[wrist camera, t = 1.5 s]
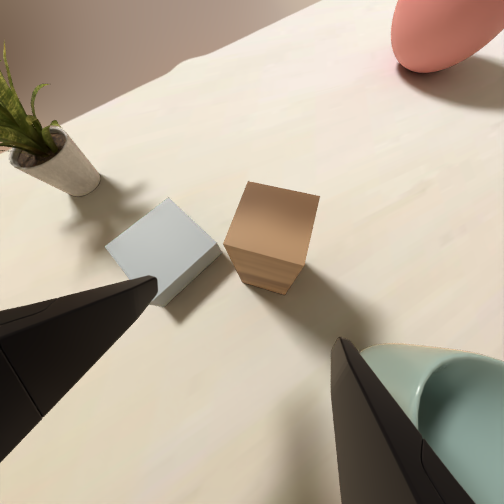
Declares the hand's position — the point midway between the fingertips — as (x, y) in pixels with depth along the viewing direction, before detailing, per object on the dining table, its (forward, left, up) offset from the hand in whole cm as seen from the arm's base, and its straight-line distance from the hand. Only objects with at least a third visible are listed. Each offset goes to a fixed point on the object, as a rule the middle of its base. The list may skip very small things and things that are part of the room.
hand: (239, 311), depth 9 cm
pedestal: (-2, +13, -12) cm, 18 cm away
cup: (+4, -12, -12) cm, 18 cm away
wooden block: (+5, +3, -12) cm, 14 cm away
